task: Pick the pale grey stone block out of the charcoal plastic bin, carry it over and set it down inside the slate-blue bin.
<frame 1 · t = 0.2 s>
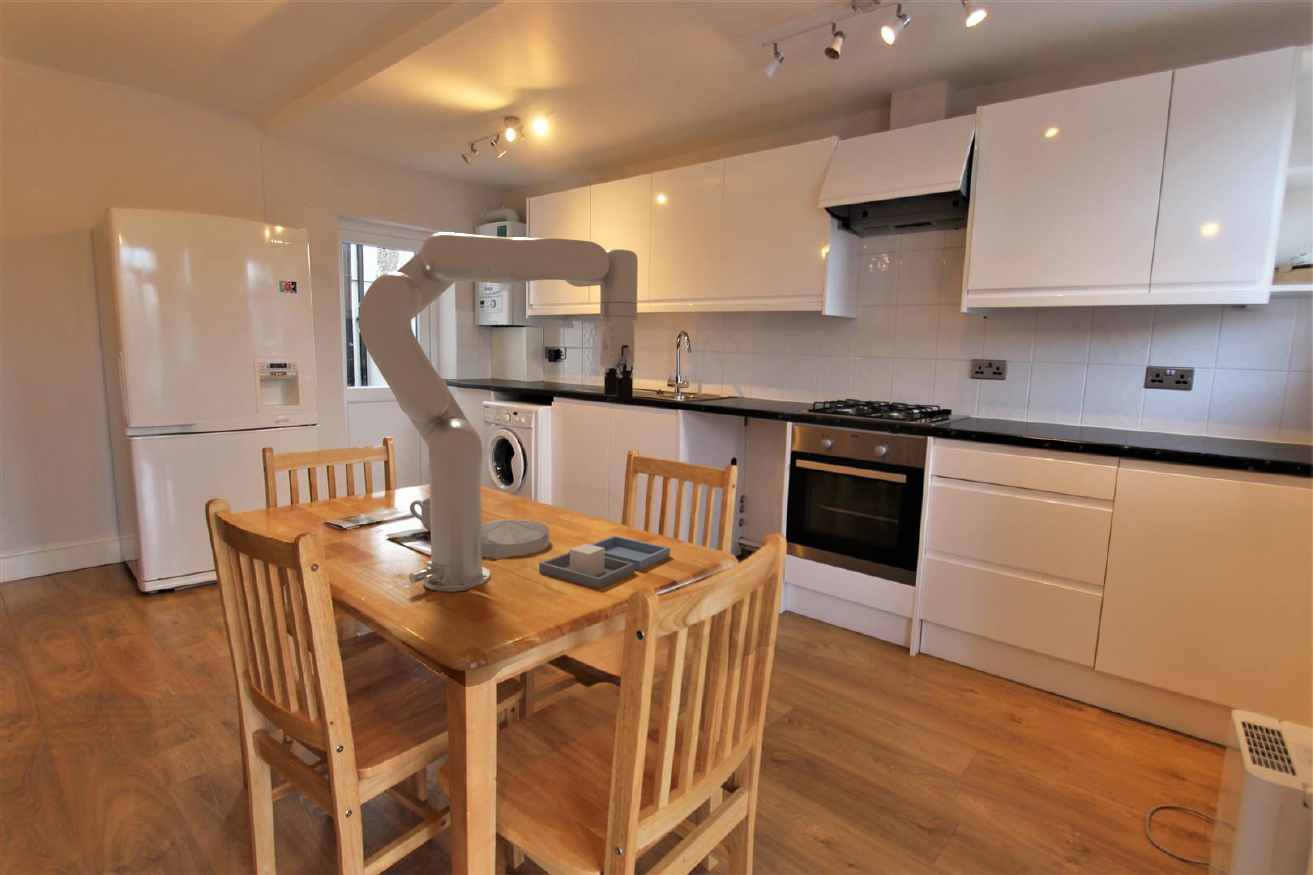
hand: (617, 396, 131), 36 cm above the table, tool pointing down, fingers open, 9 cm apart
slate-blue bin: (626, 558, 140), on the table
stone block: (587, 572, 129), point 1 cm above the table, touching charcoal bin
food container: (509, 548, 147), on the table
teacup: (438, 531, 158), on the table
charcoal bin: (587, 575, 129), on the table
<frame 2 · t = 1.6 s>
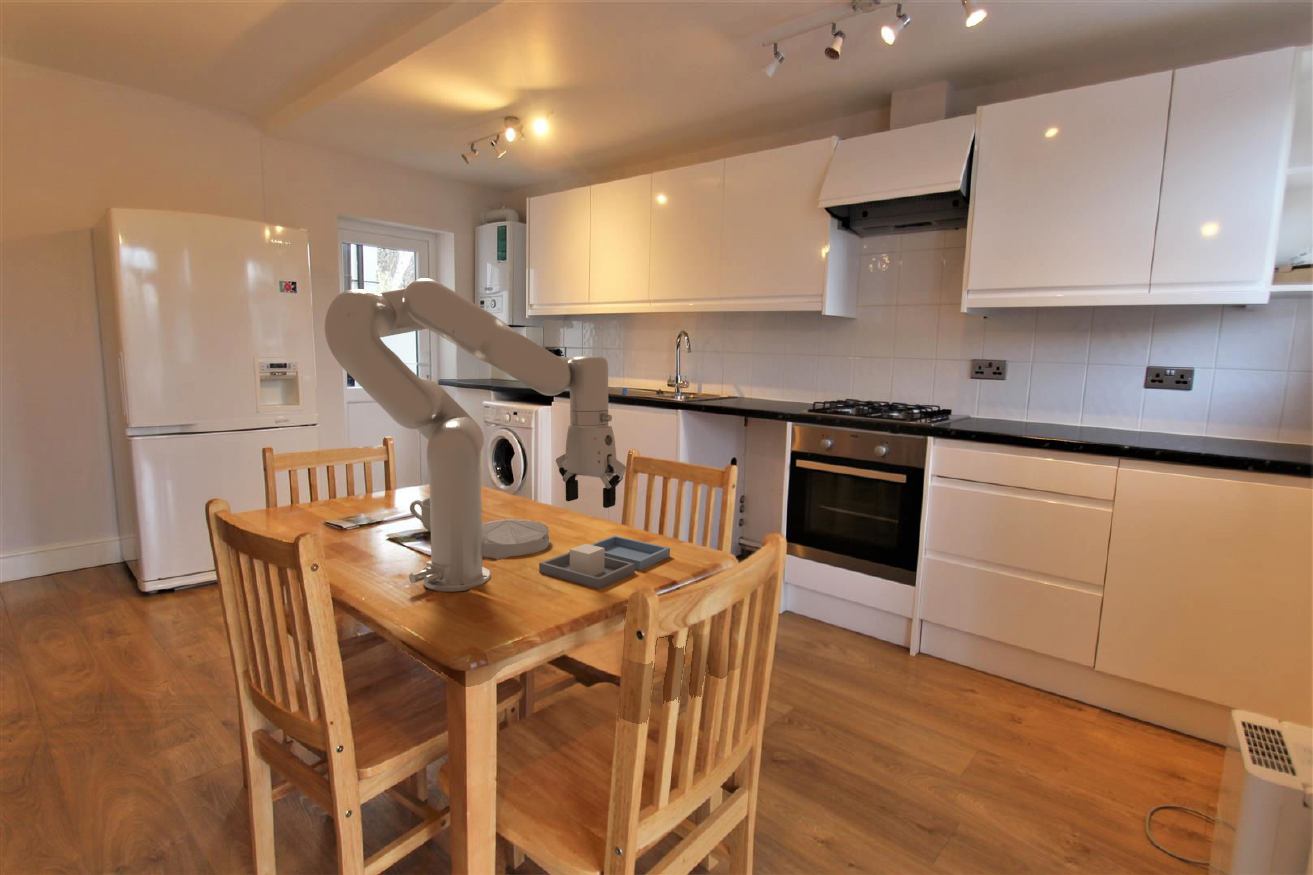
hand: (590, 503, 127), 15 cm above the table, tool pointing down, fingers open, 9 cm apart
nothing on the table moved.
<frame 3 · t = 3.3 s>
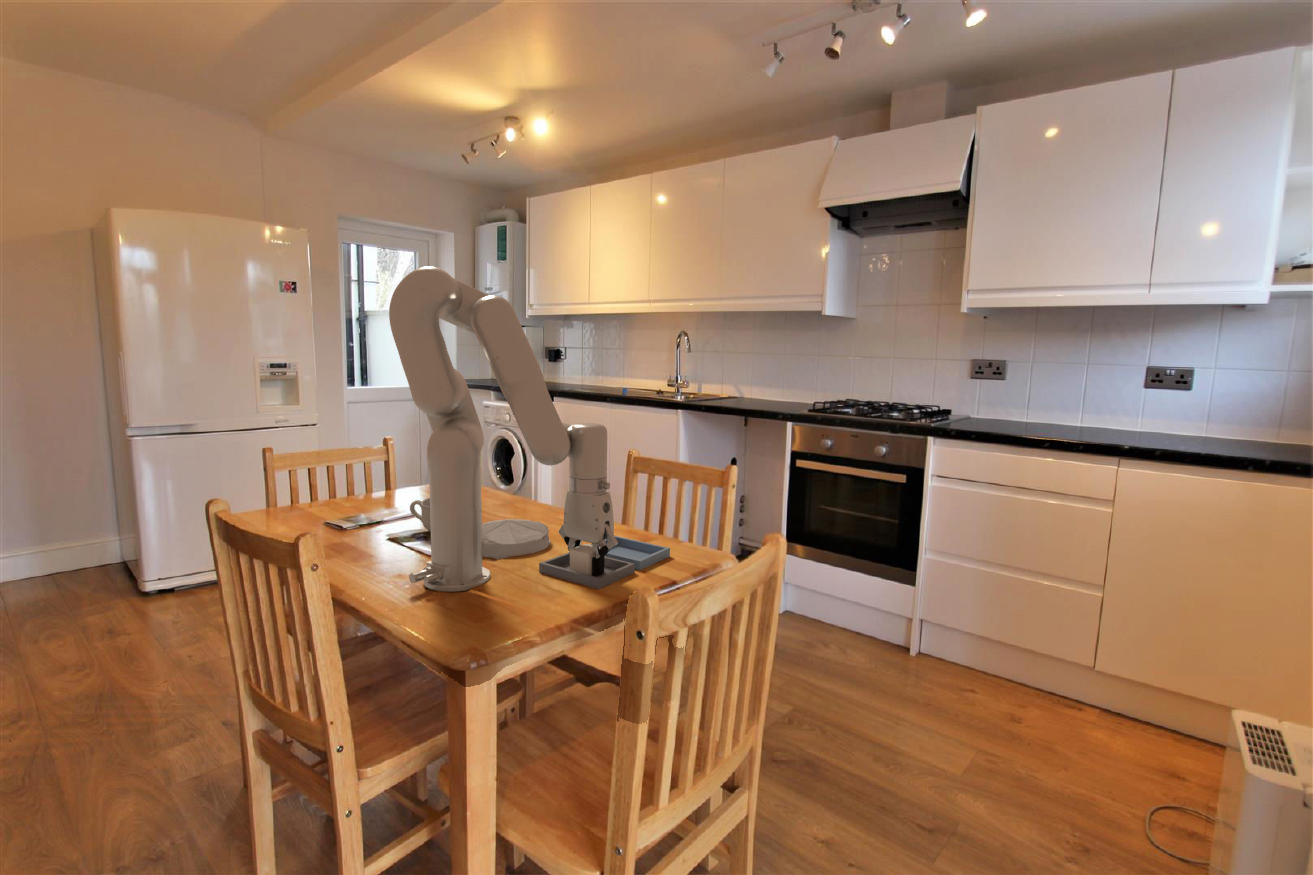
hand: (587, 571, 129), 1 cm above the table, tool pointing down, fingers closed on stone block, 5 cm apart
stone block: (587, 572, 129), point 1 cm above the table, touching charcoal bin, gripper
everything else where it was.
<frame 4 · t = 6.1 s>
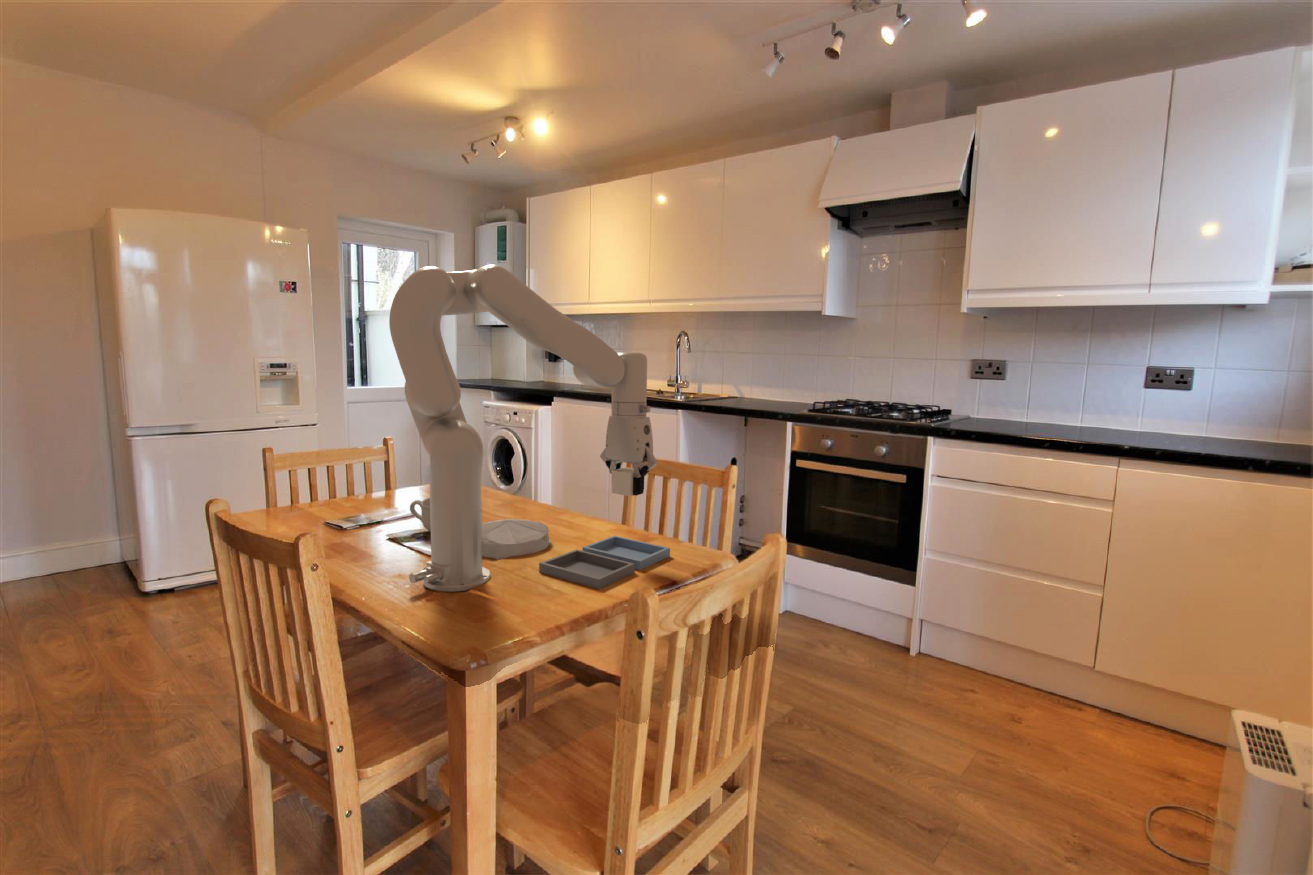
hand: (627, 491, 138), 15 cm above the table, tool pointing down, fingers closed on stone block, 5 cm apart
stone block: (627, 492, 138), point 15 cm above the table, touching gripper
everything else where it was.
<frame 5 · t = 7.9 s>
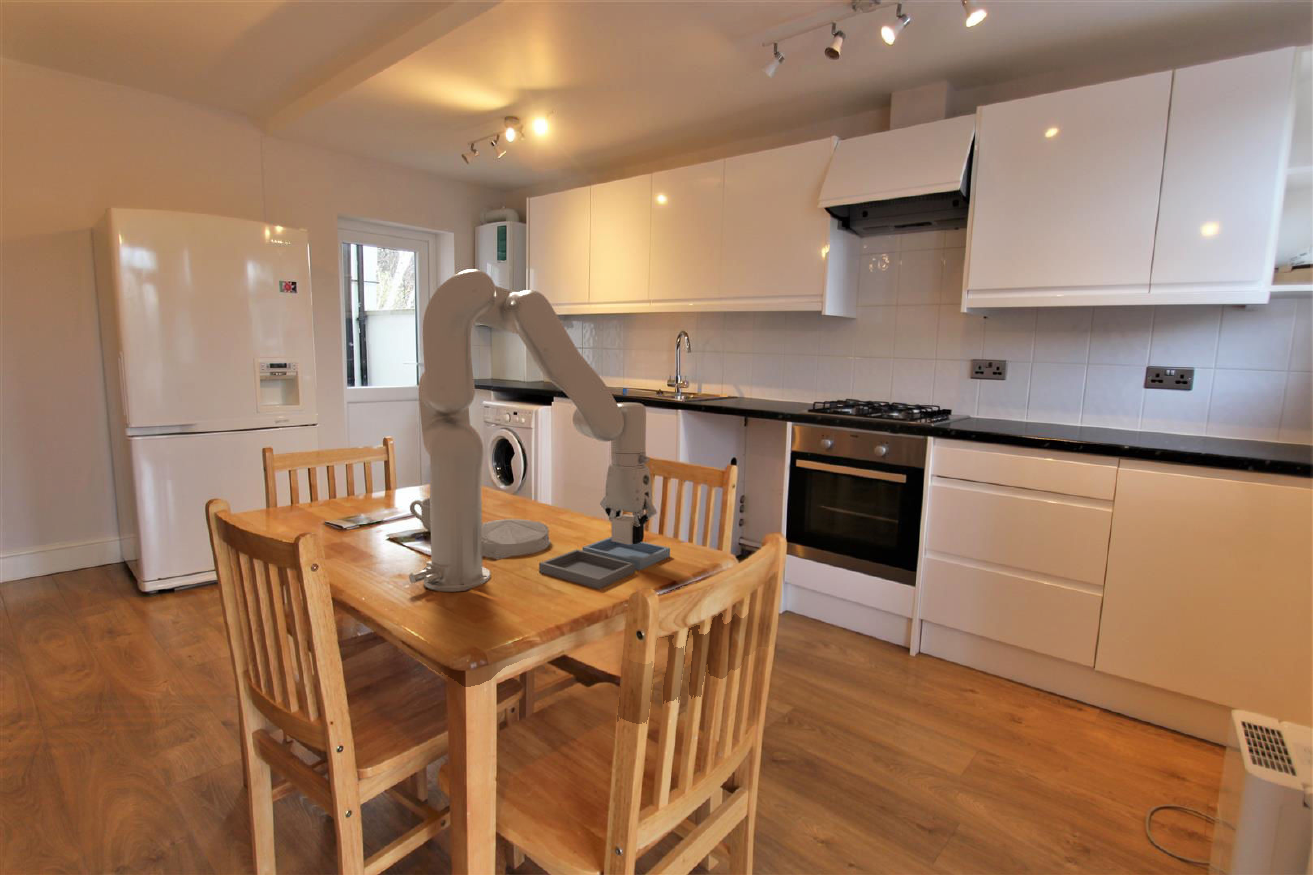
hand: (627, 539, 140), 4 cm above the table, tool pointing down, fingers closed on stone block, 5 cm apart
stone block: (627, 540, 140), point 4 cm above the table, touching gripper
everything else where it was.
when the fingers open (3 cm above the table, at t = 9.1 s): stone block drops 2 cm, resting on slate-blue bin.
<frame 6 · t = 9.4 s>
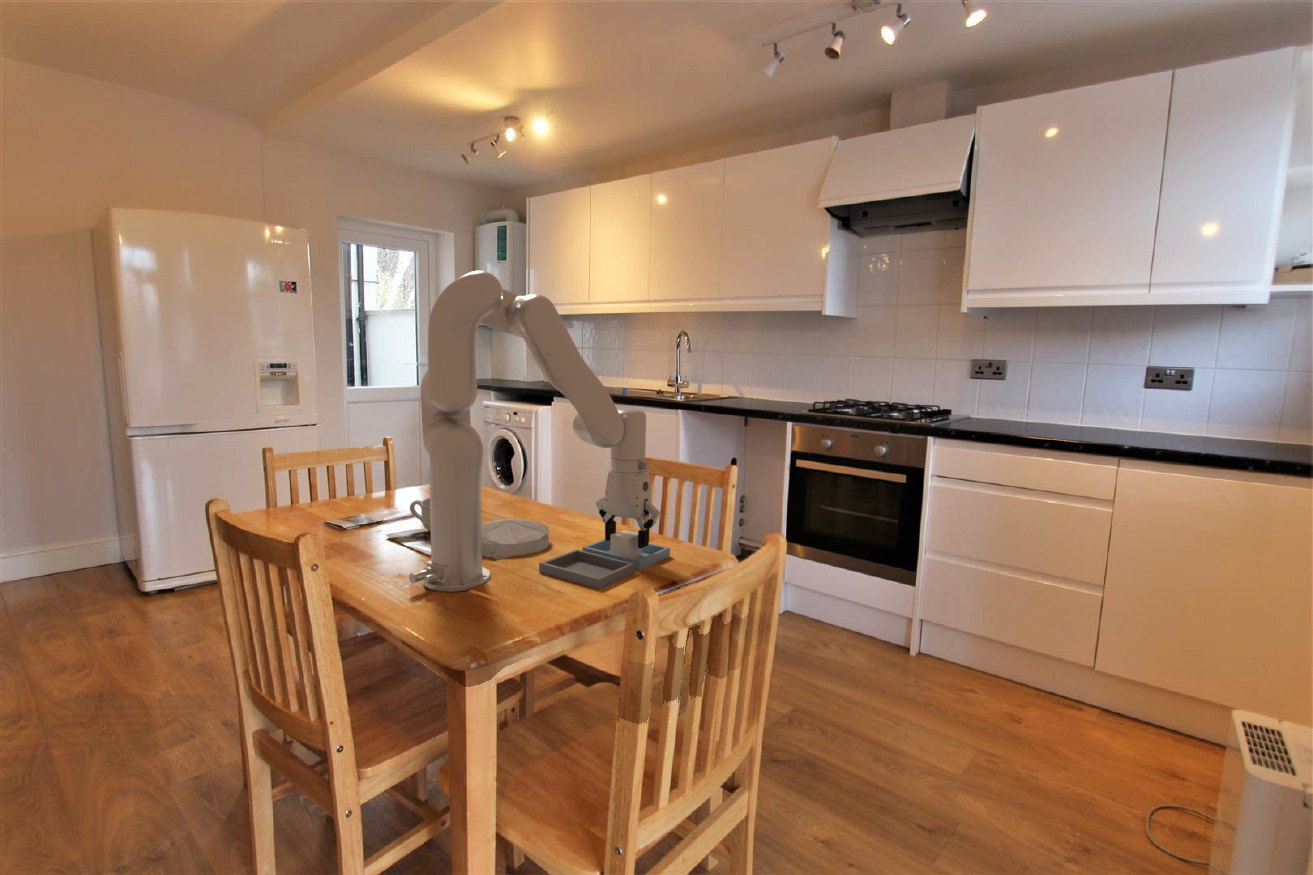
hand: (626, 542, 140), 4 cm above the table, tool pointing down, fingers open, 8 cm apart
stone block: (626, 555, 140), point 1 cm above the table, touching slate-blue bin
everything else where it was.
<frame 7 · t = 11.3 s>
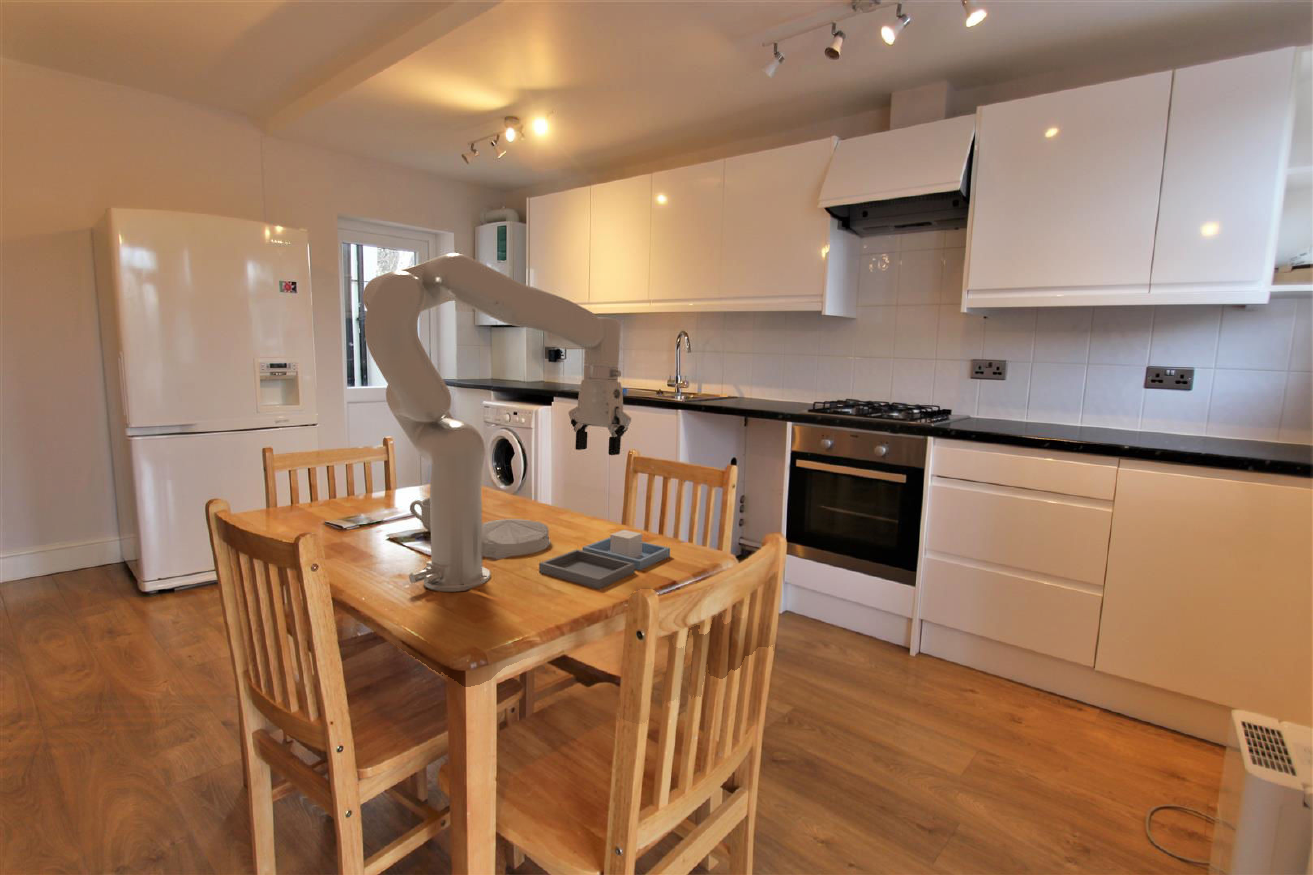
hand: (597, 451, 140), 23 cm above the table, tool pointing down, fingers open, 9 cm apart
nothing on the table moved.
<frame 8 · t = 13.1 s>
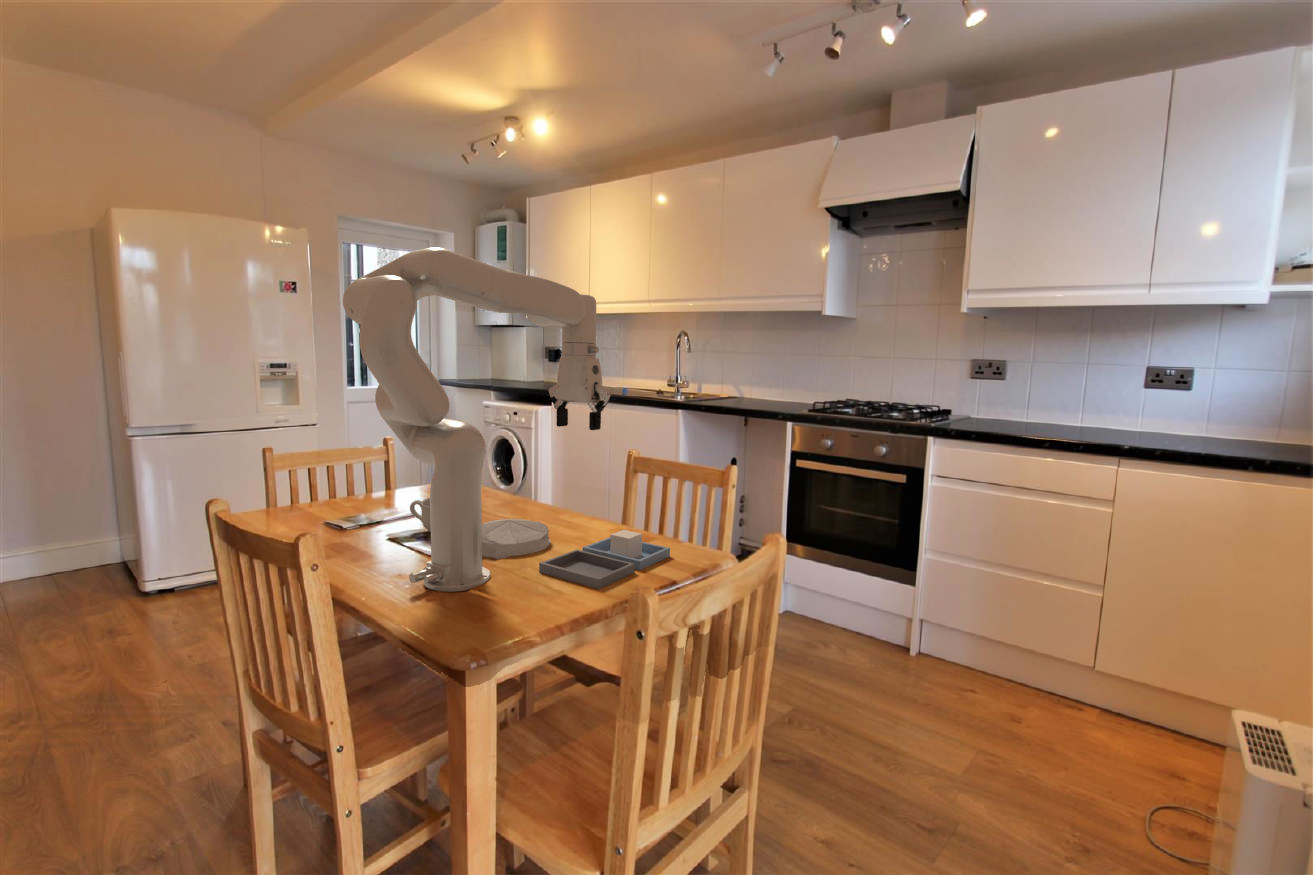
hand: (578, 427, 143), 28 cm above the table, tool pointing down, fingers open, 9 cm apart
nothing on the table moved.
at the end: stone block inside the target area on the slate-blue bin (0.1 cm from its centre), point 0.6 cm above the slate-blue bin's base; the gripper is holding nothing; stone block tilted 0° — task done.
